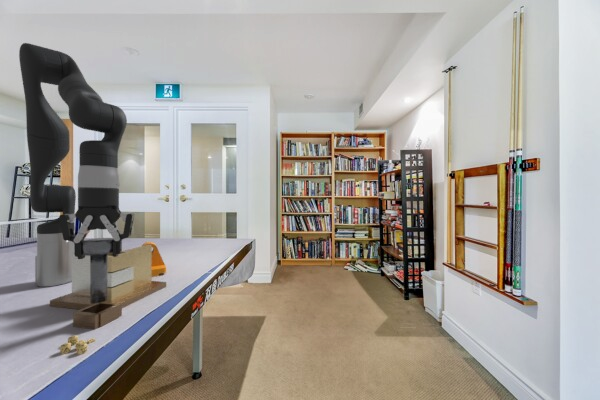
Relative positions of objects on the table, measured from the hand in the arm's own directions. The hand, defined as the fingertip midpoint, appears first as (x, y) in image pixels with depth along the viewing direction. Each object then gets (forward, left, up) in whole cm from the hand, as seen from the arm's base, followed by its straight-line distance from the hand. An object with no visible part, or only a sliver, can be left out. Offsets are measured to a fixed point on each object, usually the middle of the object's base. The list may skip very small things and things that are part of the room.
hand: (99, 256), depth 59 cm
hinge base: (-9, +10, -15) cm, 20 cm away
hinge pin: (0, 0, -10) cm, 10 cm away
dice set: (+6, -10, -16) cm, 20 cm away
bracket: (-16, +33, -15) cm, 40 cm away
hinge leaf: (-11, +9, -13) cm, 19 cm away
